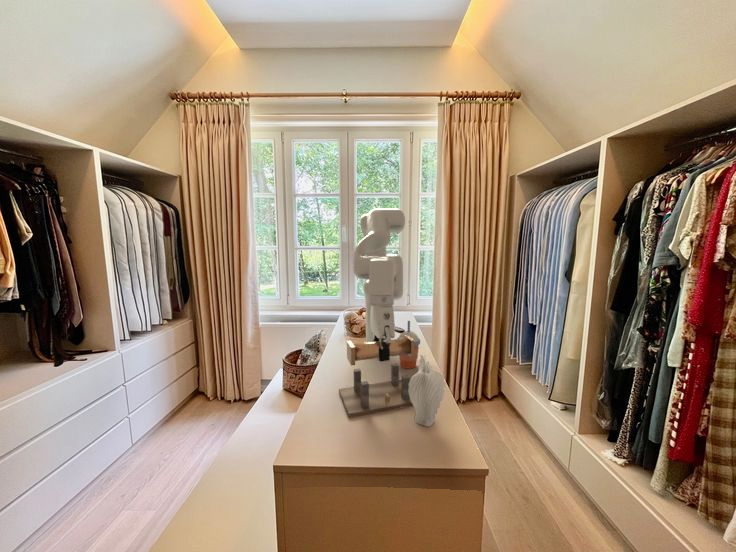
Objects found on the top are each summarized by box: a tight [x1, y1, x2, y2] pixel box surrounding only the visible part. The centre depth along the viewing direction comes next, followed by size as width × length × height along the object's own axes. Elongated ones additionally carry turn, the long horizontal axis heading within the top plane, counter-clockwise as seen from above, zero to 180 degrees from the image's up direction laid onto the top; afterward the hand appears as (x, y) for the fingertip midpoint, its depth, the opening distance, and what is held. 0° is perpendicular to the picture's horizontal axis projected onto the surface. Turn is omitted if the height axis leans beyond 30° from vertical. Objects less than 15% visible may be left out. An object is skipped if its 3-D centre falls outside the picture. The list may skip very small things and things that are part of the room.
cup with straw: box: [396, 320, 421, 369], centre depth 115 cm, size 9×9×18 cm
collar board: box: [338, 363, 414, 418], centre depth 93 cm, size 14×24×8 cm, turn 107°
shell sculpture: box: [408, 354, 446, 427], centre depth 80 cm, size 8×8×18 cm
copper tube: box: [346, 335, 415, 366], centre depth 91 cm, size 20×6×6 cm, turn 107°
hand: (381, 356), depth 91 cm, fingers closed on copper tube, 5 cm apart
